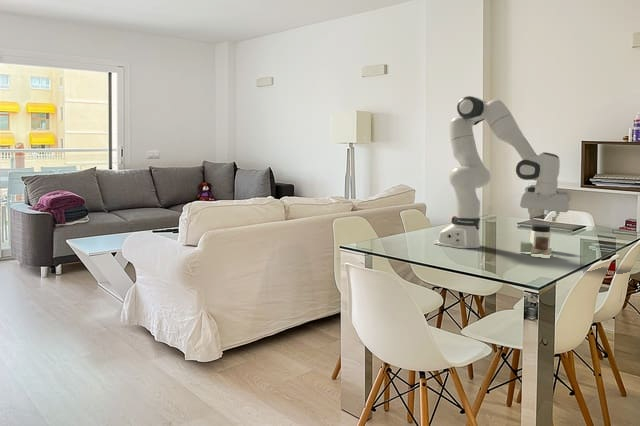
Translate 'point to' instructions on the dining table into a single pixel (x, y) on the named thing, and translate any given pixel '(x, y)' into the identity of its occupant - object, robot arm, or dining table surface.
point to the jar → (540, 233)
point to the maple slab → (540, 251)
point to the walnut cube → (541, 243)
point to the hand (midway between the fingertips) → (542, 219)
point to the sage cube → (525, 246)
